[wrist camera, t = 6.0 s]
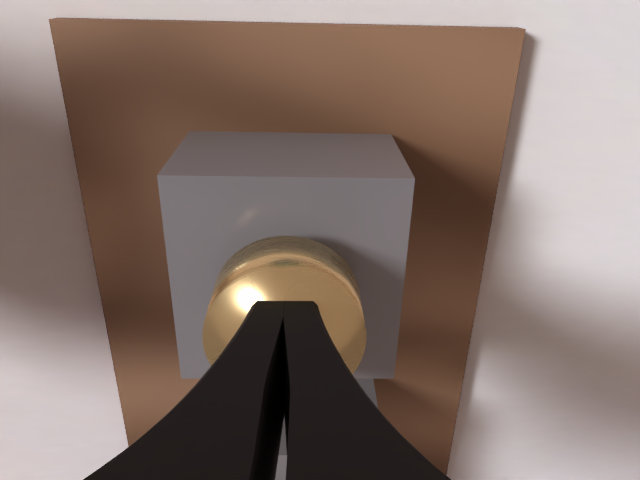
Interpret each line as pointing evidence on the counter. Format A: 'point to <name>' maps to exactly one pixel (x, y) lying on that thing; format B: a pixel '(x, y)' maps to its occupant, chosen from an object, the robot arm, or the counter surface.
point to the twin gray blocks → (288, 225)
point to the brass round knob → (287, 292)
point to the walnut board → (291, 117)
